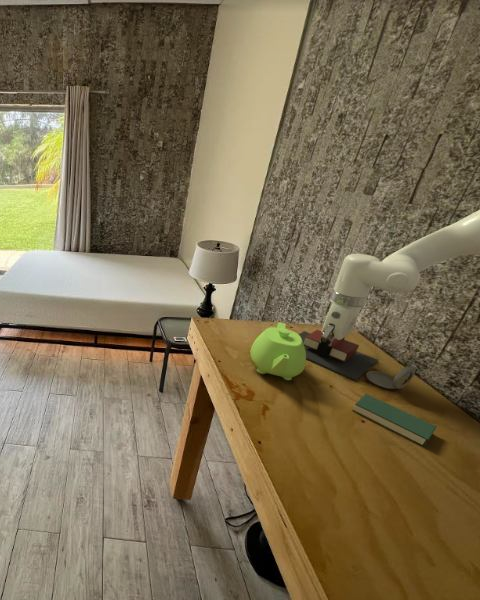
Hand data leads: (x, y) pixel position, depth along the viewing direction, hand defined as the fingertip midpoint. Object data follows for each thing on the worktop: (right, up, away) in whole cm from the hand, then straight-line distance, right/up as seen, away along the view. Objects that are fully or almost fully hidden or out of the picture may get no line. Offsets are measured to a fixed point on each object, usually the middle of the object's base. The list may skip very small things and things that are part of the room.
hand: (328, 350), depth 96 cm
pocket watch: (+6, -7, -12) cm, 15 cm away
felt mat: (0, -1, +1) cm, 1 cm away
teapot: (-20, -4, -5) cm, 21 cm away
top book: (0, 0, 0) cm, 1 cm away
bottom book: (-4, -13, -23) cm, 27 cm away
